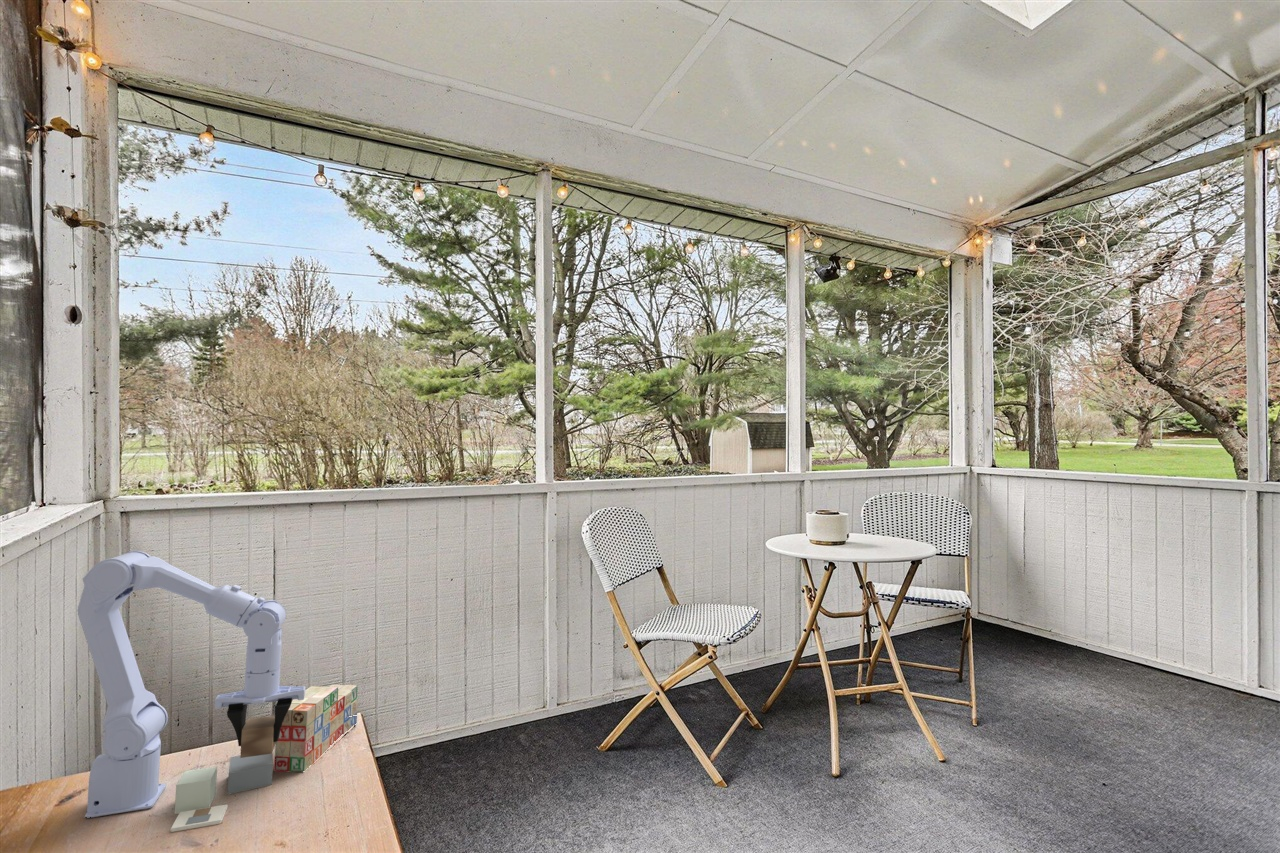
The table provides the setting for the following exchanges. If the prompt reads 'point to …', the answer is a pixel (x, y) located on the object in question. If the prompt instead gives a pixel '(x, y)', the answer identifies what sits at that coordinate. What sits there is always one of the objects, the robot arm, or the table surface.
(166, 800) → the table surface
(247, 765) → the slate block
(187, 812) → the card
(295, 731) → the stack of blocks
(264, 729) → the walnut block
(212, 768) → the sage block
